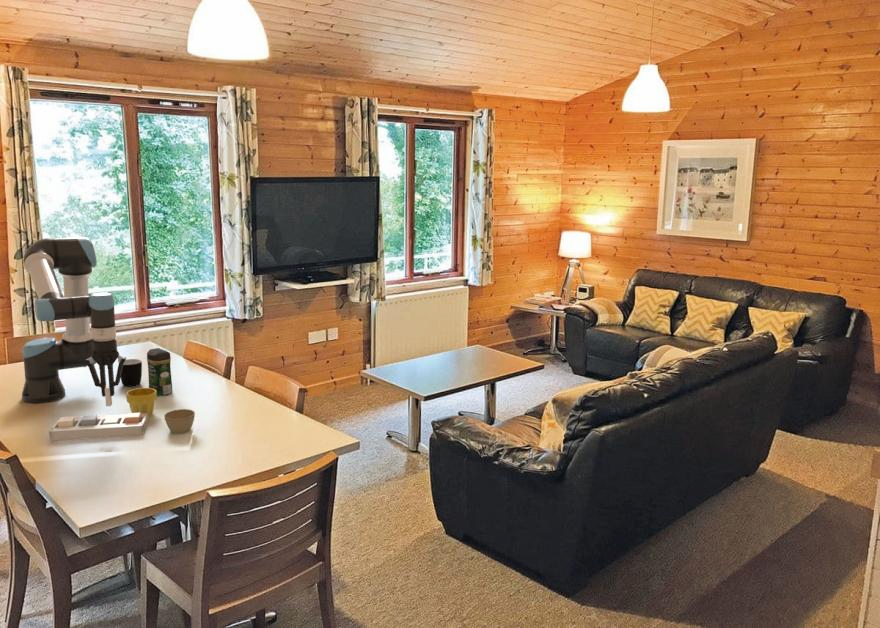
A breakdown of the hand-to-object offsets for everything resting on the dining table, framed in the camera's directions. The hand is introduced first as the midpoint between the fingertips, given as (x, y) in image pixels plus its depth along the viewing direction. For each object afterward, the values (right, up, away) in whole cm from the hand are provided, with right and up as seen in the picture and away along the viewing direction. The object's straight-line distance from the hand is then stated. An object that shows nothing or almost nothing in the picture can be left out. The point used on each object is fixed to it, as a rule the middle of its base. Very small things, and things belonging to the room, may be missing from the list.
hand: (109, 404), depth 245 cm
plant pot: (+4, -7, +18) cm, 20 cm away
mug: (-18, +1, +57) cm, 60 cm away
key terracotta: (+7, -6, +3) cm, 10 cm away
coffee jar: (0, -1, +46) cm, 46 cm away
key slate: (-7, -7, 0) cm, 9 cm away
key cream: (-13, -7, -2) cm, 15 cm away
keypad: (-3, -10, +1) cm, 11 cm away
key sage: (0, -8, +2) cm, 8 cm away
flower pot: (+24, -11, +3) cm, 26 cm away
